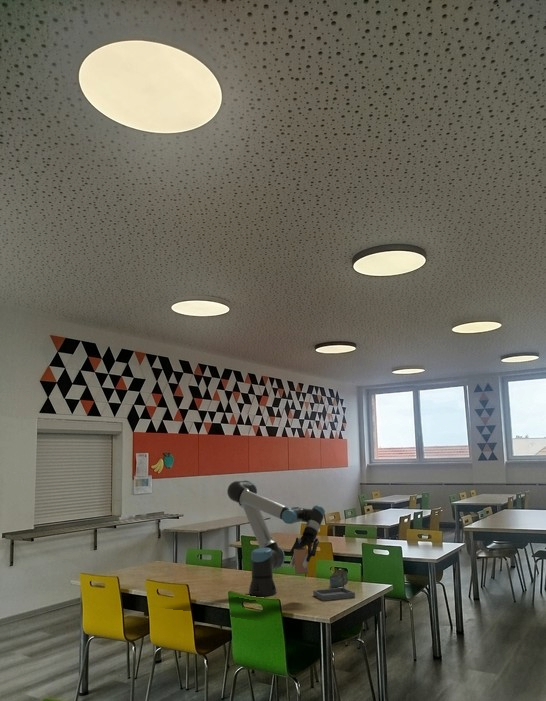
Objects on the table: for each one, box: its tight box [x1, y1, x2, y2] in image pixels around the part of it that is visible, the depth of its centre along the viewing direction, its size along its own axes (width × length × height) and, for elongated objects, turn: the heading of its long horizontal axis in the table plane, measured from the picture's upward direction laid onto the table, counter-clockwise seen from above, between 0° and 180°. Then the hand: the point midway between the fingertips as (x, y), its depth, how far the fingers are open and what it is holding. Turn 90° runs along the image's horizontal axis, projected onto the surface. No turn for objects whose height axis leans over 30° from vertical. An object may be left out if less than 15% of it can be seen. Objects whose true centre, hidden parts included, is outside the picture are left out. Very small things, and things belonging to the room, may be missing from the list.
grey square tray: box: [312, 587, 356, 601], centre depth 295 cm, size 15×18×2 cm
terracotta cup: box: [293, 547, 309, 575], centre depth 297 cm, size 7×7×12 cm
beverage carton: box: [329, 570, 349, 588], centre depth 327 cm, size 8×19×7 cm, turn 165°
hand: (297, 566), depth 294 cm, fingers closed on terracotta cup, 7 cm apart
